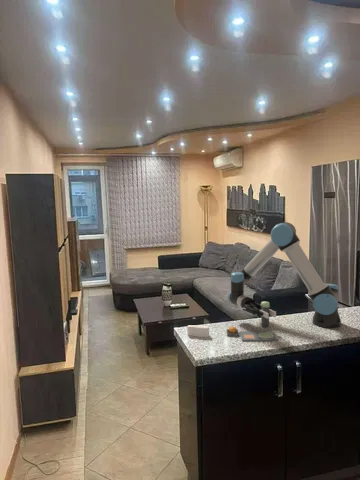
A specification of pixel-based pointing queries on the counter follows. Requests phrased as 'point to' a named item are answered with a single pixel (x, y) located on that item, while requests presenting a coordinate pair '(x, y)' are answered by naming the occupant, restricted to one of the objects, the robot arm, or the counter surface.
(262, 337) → the board
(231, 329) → the button
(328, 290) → the robot arm
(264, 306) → the marker
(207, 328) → the white block piece
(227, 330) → the button housing
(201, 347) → the counter surface
